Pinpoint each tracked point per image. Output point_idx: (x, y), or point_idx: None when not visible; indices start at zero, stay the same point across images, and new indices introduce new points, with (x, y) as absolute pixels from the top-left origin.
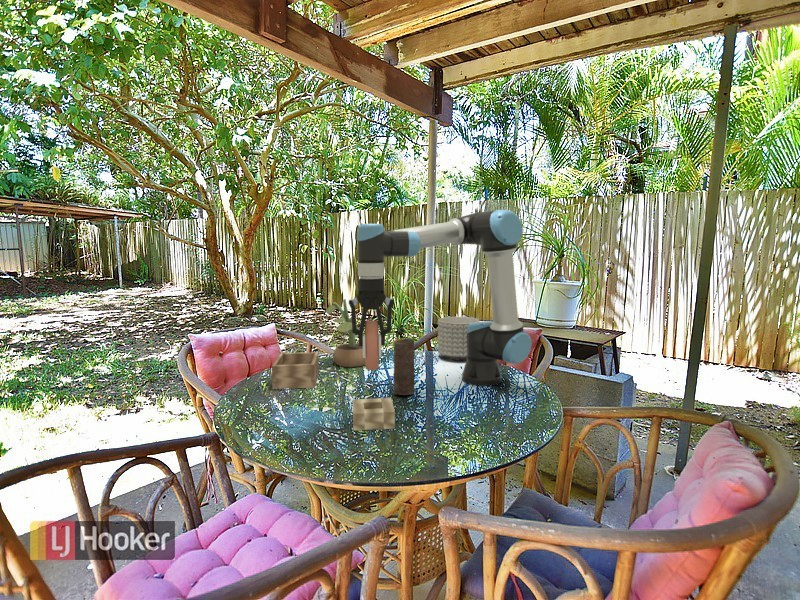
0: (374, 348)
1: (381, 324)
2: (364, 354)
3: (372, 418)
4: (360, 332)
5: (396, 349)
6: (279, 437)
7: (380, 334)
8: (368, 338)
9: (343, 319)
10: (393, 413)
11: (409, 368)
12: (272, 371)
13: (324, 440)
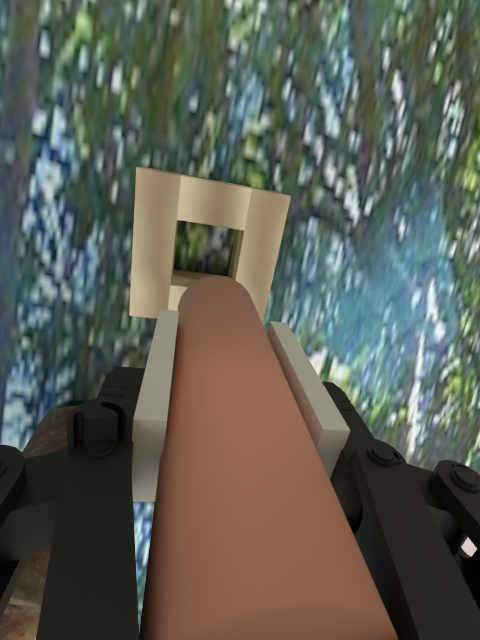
0: (215, 334)
1: (83, 586)
2: (283, 332)
3: (221, 182)
4: (391, 469)
5: (43, 568)
6: (471, 205)
7: (133, 472)
8: (285, 398)
9: None
10: (142, 168)
11: None
12: None
13: (371, 143)
